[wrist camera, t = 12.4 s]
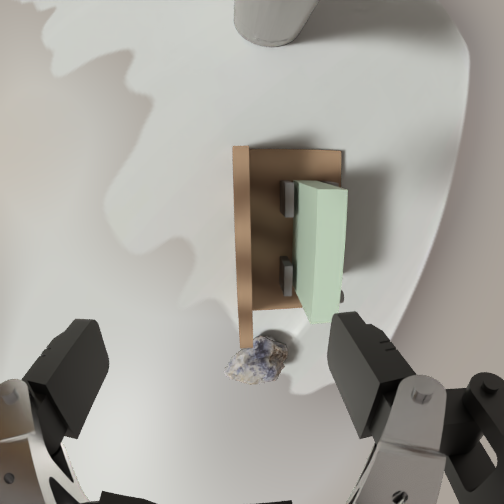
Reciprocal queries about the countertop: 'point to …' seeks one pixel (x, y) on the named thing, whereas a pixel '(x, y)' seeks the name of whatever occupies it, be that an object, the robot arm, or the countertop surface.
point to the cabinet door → (319, 247)
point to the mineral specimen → (258, 362)
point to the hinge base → (270, 224)
